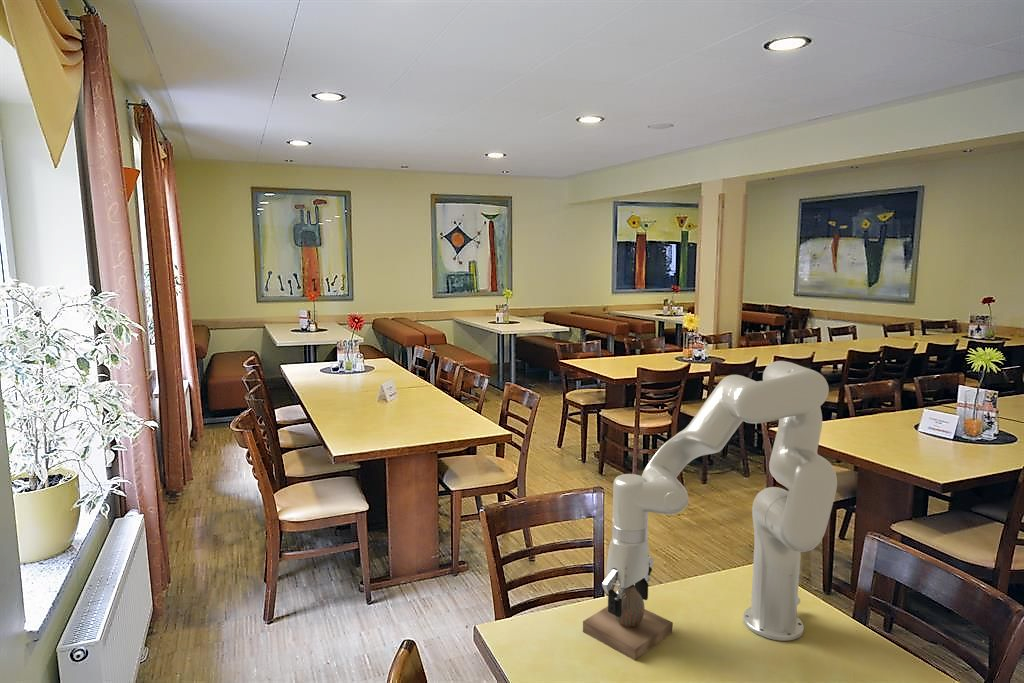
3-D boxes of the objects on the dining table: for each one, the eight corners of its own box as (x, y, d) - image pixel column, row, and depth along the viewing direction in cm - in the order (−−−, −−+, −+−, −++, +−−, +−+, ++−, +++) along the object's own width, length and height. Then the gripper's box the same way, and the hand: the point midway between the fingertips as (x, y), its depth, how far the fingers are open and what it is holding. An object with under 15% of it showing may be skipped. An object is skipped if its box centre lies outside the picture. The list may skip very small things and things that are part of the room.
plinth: (621, 607, 151) (621, 597, 150) (672, 632, 141) (672, 622, 140) (582, 631, 141) (583, 621, 141) (634, 660, 131) (635, 649, 131)
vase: (644, 633, 136) (644, 594, 135) (611, 629, 138) (612, 591, 137) (644, 615, 143) (645, 578, 142) (613, 611, 144) (613, 575, 143)
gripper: (639, 515, 146) (637, 585, 149) (590, 538, 135) (589, 614, 137) (667, 525, 141) (664, 597, 143) (619, 550, 129) (617, 628, 131)
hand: (628, 605), depth 140 cm, fingers open, 9 cm apart
